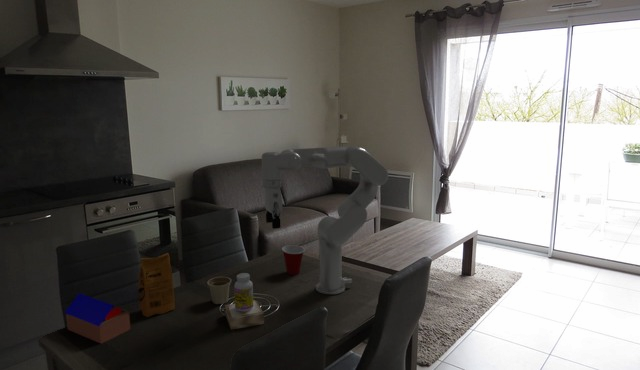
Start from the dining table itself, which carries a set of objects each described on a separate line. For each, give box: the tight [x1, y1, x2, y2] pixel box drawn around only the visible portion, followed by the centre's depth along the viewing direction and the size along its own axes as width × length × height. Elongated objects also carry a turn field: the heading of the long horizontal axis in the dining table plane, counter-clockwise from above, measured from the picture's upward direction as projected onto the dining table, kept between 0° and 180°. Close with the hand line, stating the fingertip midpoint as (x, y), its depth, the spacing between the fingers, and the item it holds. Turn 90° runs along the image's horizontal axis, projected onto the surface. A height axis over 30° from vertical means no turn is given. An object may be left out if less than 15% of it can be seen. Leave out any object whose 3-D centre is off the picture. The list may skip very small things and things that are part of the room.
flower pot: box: [207, 276, 232, 305], centre depth 181 cm, size 9×9×9 cm
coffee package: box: [137, 252, 176, 318], centre depth 172 cm, size 10×12×22 cm
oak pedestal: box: [224, 299, 265, 330], centre depth 166 cm, size 12×12×4 cm
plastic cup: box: [281, 244, 306, 276], centre depth 211 cm, size 11×11×12 cm
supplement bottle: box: [233, 272, 254, 312], centre depth 164 cm, size 7×7×13 cm
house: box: [64, 293, 131, 345], centre depth 159 cm, size 12×20×12 cm, turn 59°
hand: (273, 225), depth 181 cm, fingers open, 9 cm apart
